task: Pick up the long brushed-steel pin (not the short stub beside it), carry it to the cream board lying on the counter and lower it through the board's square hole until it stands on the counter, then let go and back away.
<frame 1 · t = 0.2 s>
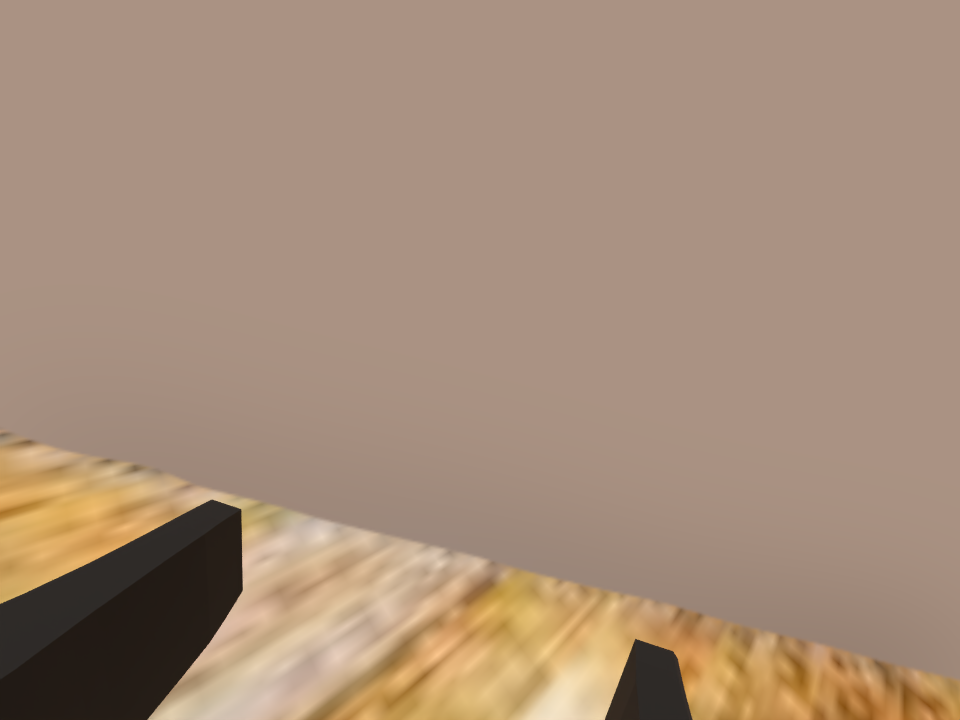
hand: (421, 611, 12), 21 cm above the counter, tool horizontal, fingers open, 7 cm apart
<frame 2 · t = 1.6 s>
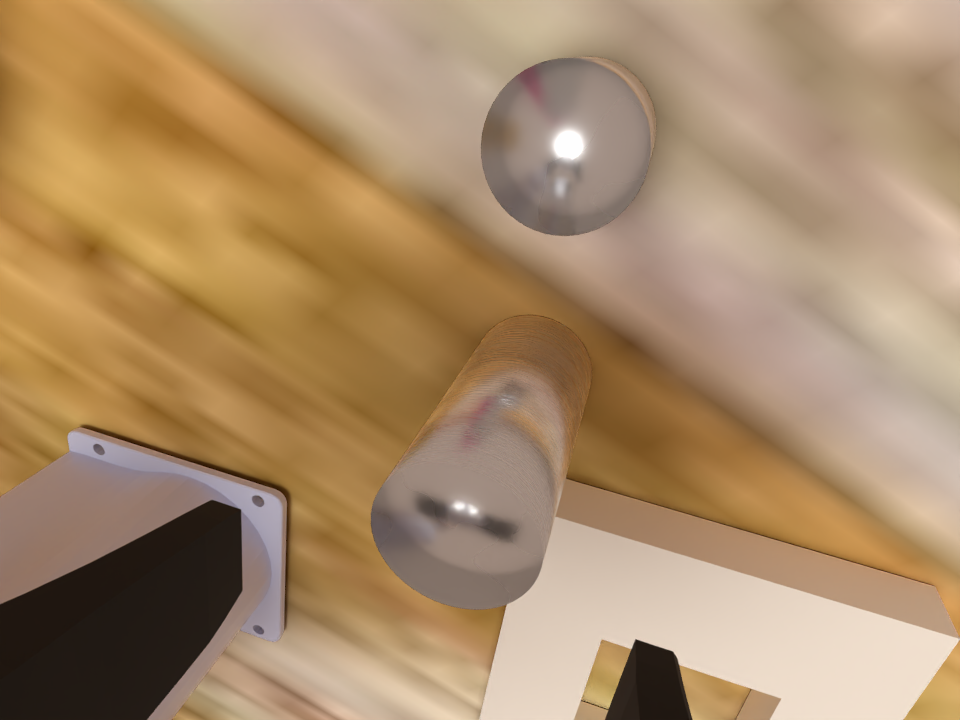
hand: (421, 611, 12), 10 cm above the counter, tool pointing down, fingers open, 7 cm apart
hole board: (665, 674, 24), on the counter
long steel pin: (532, 370, 20), on the counter
short steel pin: (584, 133, 17), on the counter
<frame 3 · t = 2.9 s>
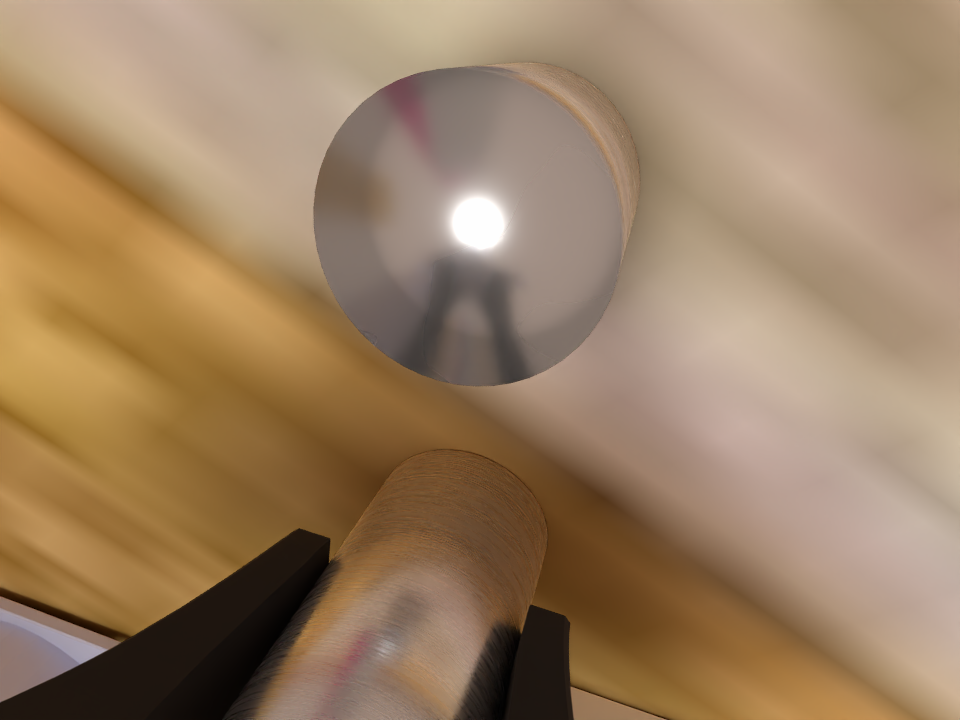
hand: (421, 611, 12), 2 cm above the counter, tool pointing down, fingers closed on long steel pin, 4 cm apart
long steel pin: (461, 524, 14), on the counter, touching gripper
short steel pin: (523, 186, 10), on the counter
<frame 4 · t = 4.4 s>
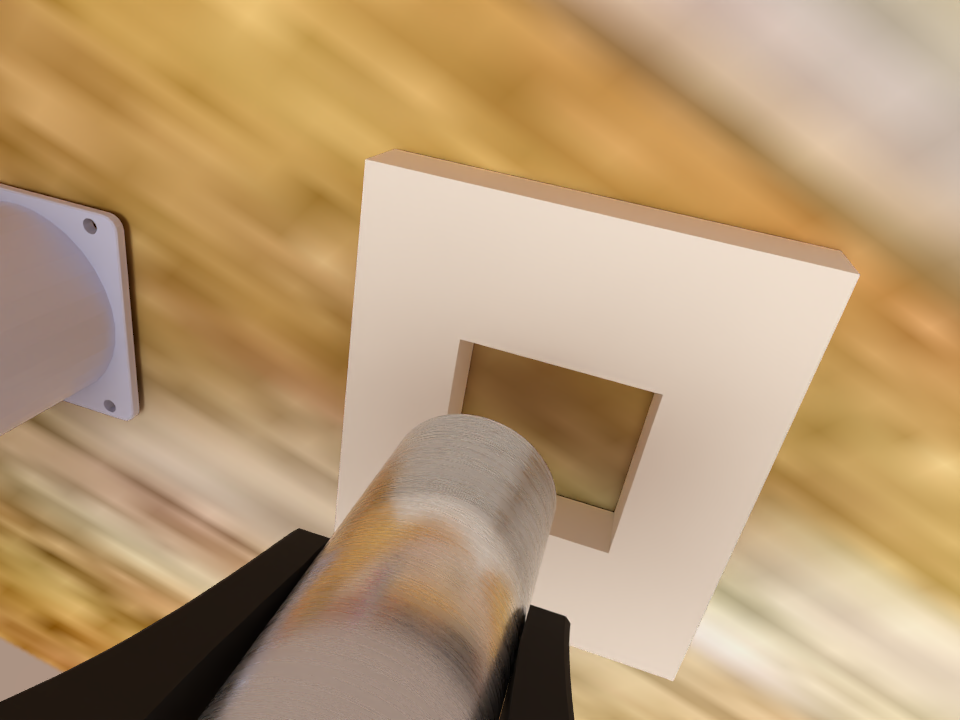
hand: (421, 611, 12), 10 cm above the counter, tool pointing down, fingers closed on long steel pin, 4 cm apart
hole board: (549, 417, 21), on the counter
long steel pin: (471, 489, 14), point 7 cm above the counter, touching gripper
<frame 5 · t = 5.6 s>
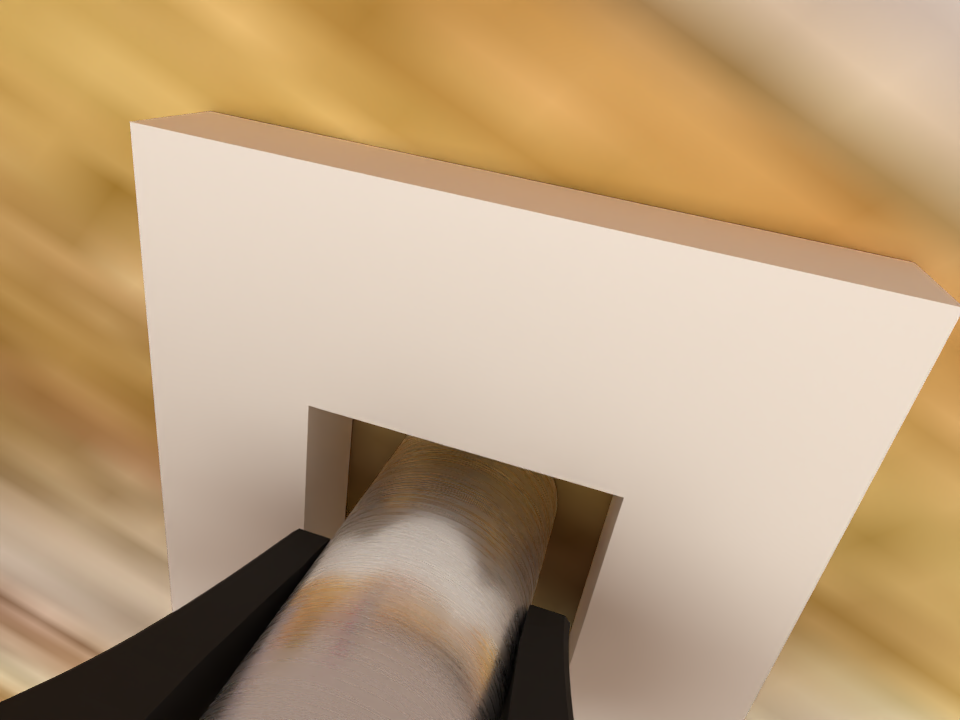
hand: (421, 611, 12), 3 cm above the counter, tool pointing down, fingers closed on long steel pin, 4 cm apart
hole board: (468, 506, 14), on the counter
long steel pin: (472, 490, 14), resting in hole board, touching gripper
when the fingers open (3 cm above the counter, at t = 6.0 s): long steel pin stays where it is, resting in hole board.
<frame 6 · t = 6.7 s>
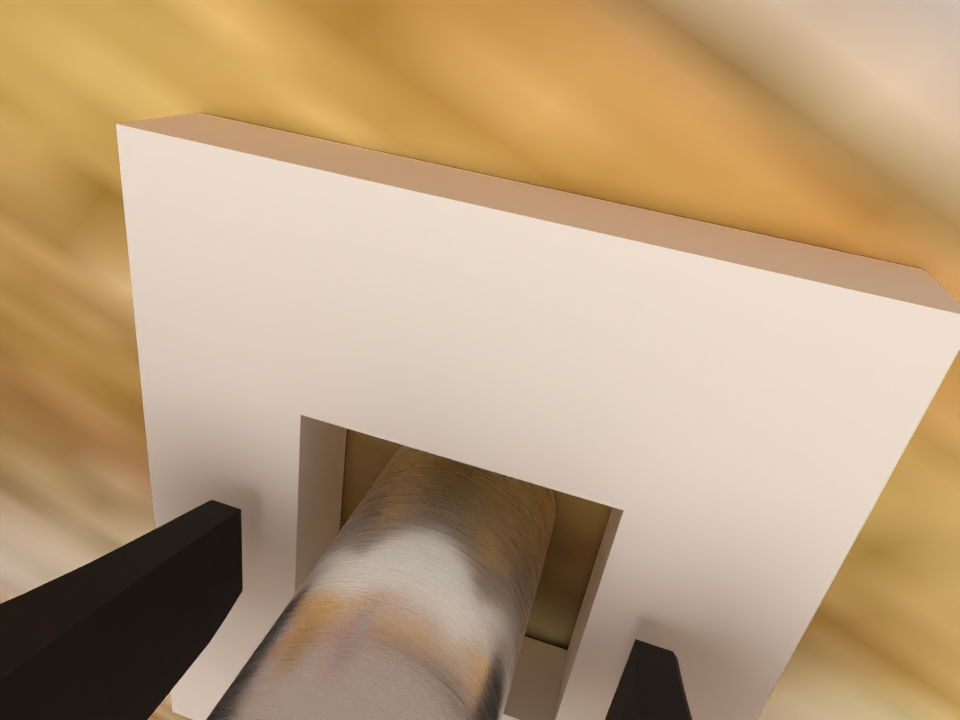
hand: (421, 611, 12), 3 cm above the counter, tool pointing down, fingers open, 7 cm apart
hole board: (465, 516, 14), on the counter
long steel pin: (470, 497, 14), resting in hole board
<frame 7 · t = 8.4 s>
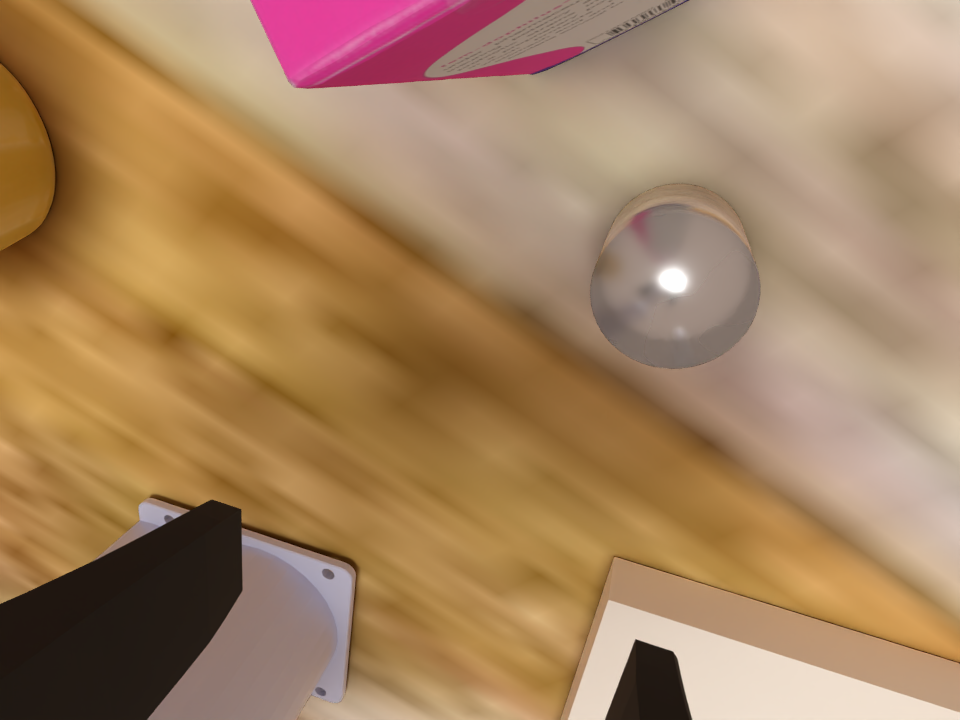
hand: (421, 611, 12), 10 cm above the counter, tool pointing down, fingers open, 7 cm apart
short steel pin: (673, 252, 18), on the counter
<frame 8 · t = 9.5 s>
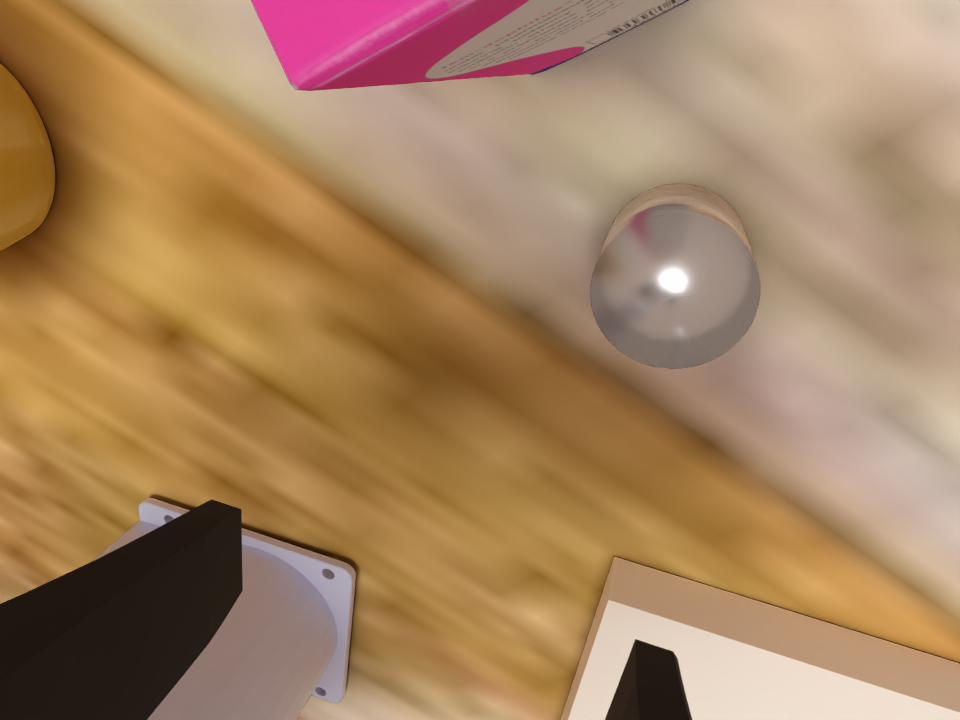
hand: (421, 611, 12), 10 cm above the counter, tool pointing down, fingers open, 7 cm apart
short steel pin: (673, 252, 18), on the counter
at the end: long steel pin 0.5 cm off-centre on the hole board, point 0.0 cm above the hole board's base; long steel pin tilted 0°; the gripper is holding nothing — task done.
